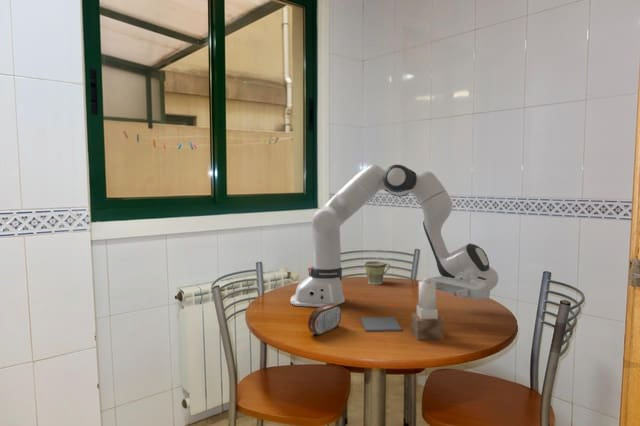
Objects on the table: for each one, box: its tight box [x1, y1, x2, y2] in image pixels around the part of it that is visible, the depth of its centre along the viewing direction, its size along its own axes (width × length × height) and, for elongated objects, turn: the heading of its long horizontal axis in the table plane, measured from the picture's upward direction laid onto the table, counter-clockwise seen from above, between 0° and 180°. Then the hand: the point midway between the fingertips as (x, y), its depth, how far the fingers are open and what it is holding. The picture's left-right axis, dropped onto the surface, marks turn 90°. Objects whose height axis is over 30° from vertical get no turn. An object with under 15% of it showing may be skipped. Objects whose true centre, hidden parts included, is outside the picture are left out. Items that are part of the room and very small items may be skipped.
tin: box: [307, 303, 342, 336], centre depth 134 cm, size 15×3×8 cm, turn 141°
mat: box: [360, 316, 403, 332], centre depth 140 cm, size 12×12×1 cm
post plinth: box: [410, 312, 444, 341], centre depth 130 cm, size 8×8×9 cm
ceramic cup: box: [364, 260, 391, 286], centre depth 199 cm, size 13×10×10 cm
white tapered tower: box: [416, 277, 439, 319], centre depth 129 cm, size 5×5×12 cm
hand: (443, 290), depth 134 cm, fingers open, 8 cm apart
